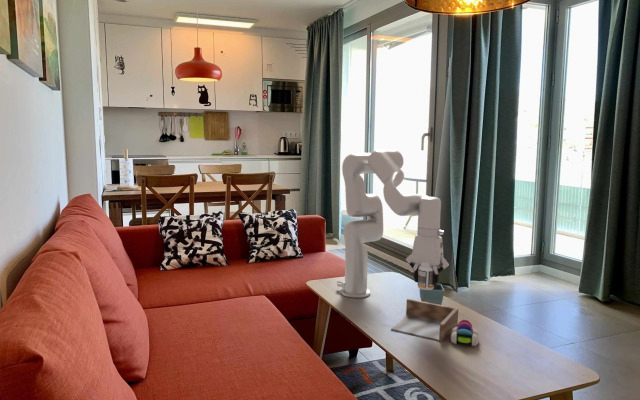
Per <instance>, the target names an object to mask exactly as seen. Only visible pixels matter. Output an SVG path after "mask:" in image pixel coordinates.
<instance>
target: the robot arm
mask: <svg viewBox="0 0 640 400" xmlns="http://www.w3.org/2000/svg"><path fill="white" fill-rule="evenodd" d="M403 165H404V157H403V155H402V153H401V152H400V151H398V150H397V149H376V150H373V151H371V152H357V153H355V152H354V153H350V154H348V155H346V157H344V160H343V161H342V165H341V166H342V167H341V169H342V176H343V180H344V188H345V190H344V191H345V192H344V193H345V206H346V207H345V208H346V213H347V215H348V216H349V217H351V218H365V217H366V218H367V219H359V220H352V221H349V222H347V223H346V224H345V225H344V227H343V238H344V243H345V244H344V245H345V250H344V252H345V255H344V256H345V258H344V259H345V261H344V281H342V280H337V282H336V286H337V287H341V289H340V294H341V295H342V296H344V297H346V298H352V299H355V298H356V299H357V298H358V299H361V298H367V297H369V296H370V295H371V290H370V289H368V288H367V287H368V266H369V265H368V263H369V256H368V255H369V254H368V250H367V248H366V246H365V243H370V242H372V243H373V242H377V241H380V240H381V239H382V237H383V235H384V213H383V212H384V209H383V202H382V200H381V198H380V197H379V196H378V195H377V194H374V193H367V192H366V191H367V190H366V183H365V180H364V178H363V177H362V174H363V175H365V174H375V175H376V176H377V178H378V179H379V180H380V182H381V183H382V184H383V189H382V190H383V198H384V201H385V203H386V205H387V206H388V207H389V208H390V210H391V211H392V212H393V213H394V214H396V215H398V216H399V217H406V216H417V231H416V232H417V233H416V234H415V237H414V240H413V246H412V252H411V253H410V254H409V255H408V256H406V258H405V261H406V262H407V264H409V266H410V267H411V268H412V270H413V279H414V283H418V268H419V266H421V263H422V262H428V263H429V265H430V266H433V269H434V274H433V285H436V284H439V282H440V281H439V280H440V279H439V278H440V273H441V272H442V271H444V270H445V269H447V268H448V267H449V265H450V263H449V262H448V261H447V259H446V258H444V245H443V237H442V236H441V235H444V234H445V231H444V230H442V229H441V208H442V200H441V199H440V198H439V197H437V196H436V197H435V196H430V195H429V196H428V195H426V194H424V193H408V194H402V193H401V192H400V191H399V190H398V189H397V187H399V186H400V185H401V184H402V182H403V181H404V178H405V173H404V171H403V170H402V167H403ZM441 264H442V266H440V265H441Z"/></svg>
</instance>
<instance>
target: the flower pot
mask: <svg viewBox="0 0 640 400" xmlns="http://www.w3.org/2000/svg"><path fill="white" fill-rule="evenodd" d="M444 294H445V288H444V287H443V285H442V284H441V283H437V284H436V285H434V288H433V289H432V290H423V289H420V288H419V298H420V301H423V302H428V303H433V304H438V305H443V300H444V296H445V295H444Z"/></svg>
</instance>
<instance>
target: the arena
mask: <svg viewBox="0 0 640 400" xmlns="http://www.w3.org/2000/svg"><path fill="white" fill-rule="evenodd" d="M405 308H406V310H405V316H404V317H403V318H401V320H399V321H398V322H397V323H396V324H395V325H394V326H393V327H391V328H390V330H391V331H394V332H398V333H401V334H402V333H403V334H407V335H411V336H416V337H419V338H424V339H429V340H432V341H433V340H434V341H437V342H439V343H443V342H444V341H445V340H446V339H447V338H448V336H449V335H451V334H452V329H453V328H455V327H458V324H459V308H458V307H453V306H449V305H443V304H441V305H438V304H433V303H428V302H423V301H421V300H417V299H411V298H407V299H406V307H405Z"/></svg>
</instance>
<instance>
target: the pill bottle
mask: <svg viewBox="0 0 640 400" xmlns="http://www.w3.org/2000/svg"><path fill="white" fill-rule="evenodd" d="M433 274H434V269H433V266H430V265H429V263H428V262H422V263H421V264H420V266H419V268H418V282H417V289H419V290H420V289H423V290H432V289H433V288H434V285H433Z"/></svg>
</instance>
